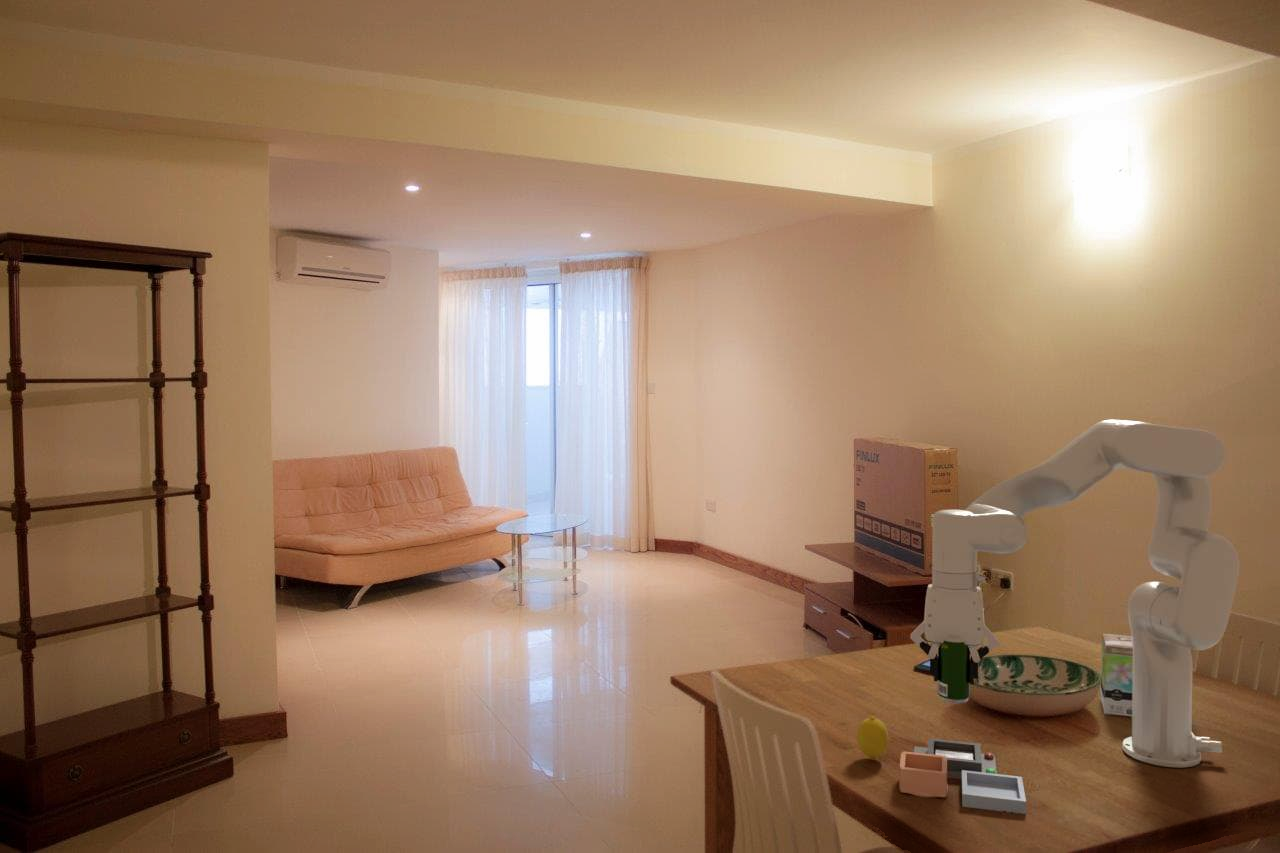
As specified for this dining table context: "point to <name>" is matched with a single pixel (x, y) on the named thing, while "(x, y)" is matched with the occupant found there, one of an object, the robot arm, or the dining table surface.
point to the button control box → (956, 765)
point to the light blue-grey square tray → (993, 792)
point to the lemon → (872, 738)
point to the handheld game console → (923, 667)
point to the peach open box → (923, 774)
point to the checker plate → (954, 753)
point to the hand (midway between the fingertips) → (953, 679)
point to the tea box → (1116, 674)
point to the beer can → (954, 670)
